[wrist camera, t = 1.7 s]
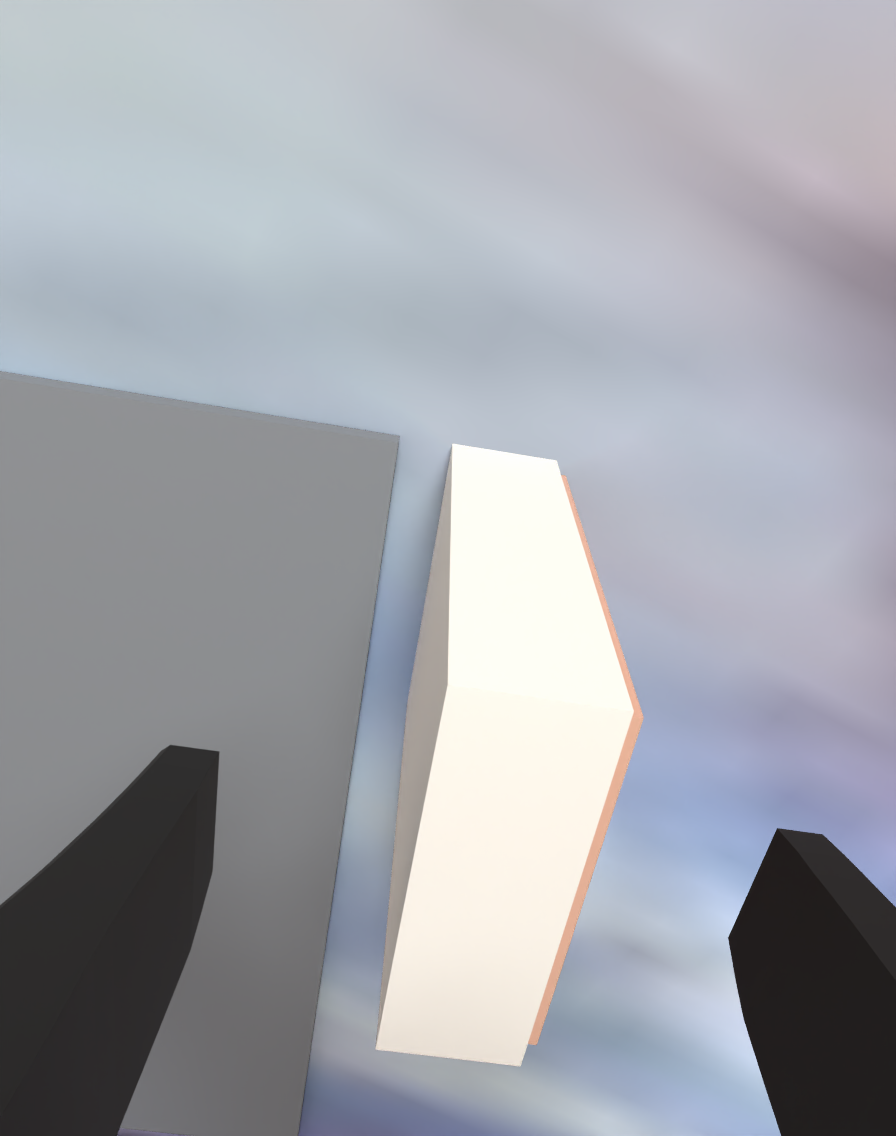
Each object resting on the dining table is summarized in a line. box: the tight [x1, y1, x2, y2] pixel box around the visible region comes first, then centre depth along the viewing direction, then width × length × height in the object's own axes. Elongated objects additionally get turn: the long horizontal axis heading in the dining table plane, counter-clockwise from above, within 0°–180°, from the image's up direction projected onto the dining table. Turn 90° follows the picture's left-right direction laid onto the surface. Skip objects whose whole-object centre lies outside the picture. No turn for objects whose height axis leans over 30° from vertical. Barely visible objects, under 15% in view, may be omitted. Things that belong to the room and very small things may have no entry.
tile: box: [375, 444, 643, 1066], centre depth 14 cm, size 6×2×8 cm, turn 171°
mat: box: [0, 371, 400, 1136], centre depth 20 cm, size 22×14×1 cm, turn 171°
